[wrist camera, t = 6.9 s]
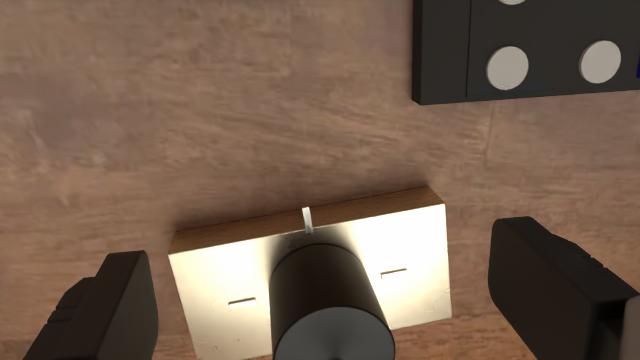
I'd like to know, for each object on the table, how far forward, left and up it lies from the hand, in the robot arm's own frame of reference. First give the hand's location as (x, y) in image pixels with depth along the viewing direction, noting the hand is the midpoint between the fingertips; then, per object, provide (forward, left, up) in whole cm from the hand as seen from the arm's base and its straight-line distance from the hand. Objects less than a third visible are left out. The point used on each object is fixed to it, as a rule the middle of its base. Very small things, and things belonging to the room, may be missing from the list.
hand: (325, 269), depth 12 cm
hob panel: (0, -8, -15) cm, 17 cm away
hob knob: (0, -8, -12) cm, 15 cm away
